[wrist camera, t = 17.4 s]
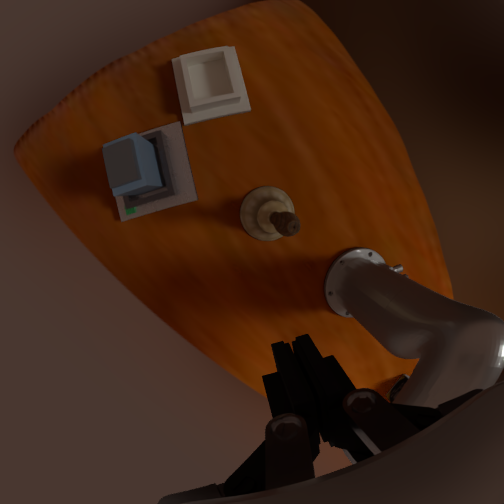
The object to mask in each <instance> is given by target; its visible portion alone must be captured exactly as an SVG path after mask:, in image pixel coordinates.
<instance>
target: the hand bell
mask: <svg viewBox="0 0 504 504" xmlns="http://www.w3.org/2000/svg"><path fill="white" fill-rule="evenodd" d="M240 219H241V223H242V225H243V227H244V229H245V230H246V232H247V233H248V234H249V235H251V236H252V237H254V238H256V239H258V240H262V241H272V240H276V239H278V238H280V237H282V236H293V235H295V234H296V233H298V232H299V230H300V221H299V219H298V217H297V216H296V215H295V214H294V206H293V203H292V201H291V199H290V198H289V196H288V195H287V194H286V193H285V192H284V191H282V190H280V189H278V188H276V187H271V186H264V187H259V188H257V189H254V190H253V191H251V192H250V193H249V194H248V195H247V196H246V197H245V199H244V200H243V202H242V205H241V209H240Z"/></svg>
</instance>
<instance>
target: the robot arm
mask: <svg viewBox="0 0 504 504" xmlns="http://www.w3.org/2000/svg"><path fill="white" fill-rule="evenodd" d="M368 253H369V254H368ZM340 261H341V262H340ZM402 271H403V267H402V265H401V264H399V265H396V266H394V267H391V266H389V265H386V263H385V261H384V260H383V258H382V257H381V256H380V255H379V254H378V253H377V252H375V251H373V250H371V249H368V248H363V247H360V248H354V249H350V250H348V251H346V252H344V253H343V254H342V255H340V256H339V257H338V258H337V259H336V260H335V261H334V262H333V264H332V265H331V267H330V268H329V270H328V273H327V275H326V279H325V284H324V292H325V297H326V301H327V302H328V304H329V306H330V307H331V308H332V309H333V310H334V311H335V312H336V313H337V314H339V315H341V316H344V317H354V318H355V319H356V320H357V321H358V322H359V323H360V324H361V325H362V326H363V327H364V328H365V329H366V330H367V331H368V332H369V333H370V334H371V335H372V336H373V337H374V338H375V339H376V340H377V341H378V342H379V343H380V344H381V345H382V346H383V347H384V348H386V349H387V350H388V351H389V352H390V353H391V354H393V355H394V356H396V357H399V358H403V359H416V358H420V359H419V361H418V363H417V365H416V366H415V368H414V370H413V373H412V374H411V376H410V377H409V379H408V380H407V382H406V383H405V385H404V386H403V388H402V389H401V391H400V392H399V394H398V395H397V397H396V398H395V399H394V401H393V402H392V403H389V402H388V401H387V400H385V399H384V398H383V397H382V396H381V395H380V394H379V393H378V392H376V391H375V390H372V389H369V388H361V389H356V388H355V386H354V385H353V383H352V382H351V380H350V379H349V377H348V376H347V375H346V373H345V372H344V370H343V369H342V367H341V366H340V364H339V363H338V361H337V360H336V359H335V357H334V356H333V355H331V356H328V357H325V358H323V357H322V356H321V354H320V352H319V351H318V349H317V348H316V346H315V344H314V343H313V341H312V339H311V338H310V336H309V335H308V334H305V335H301V336H298V337H296V341H292V346H293V351H294V353H293V351H292V349H291V347H290V344H289V343H285V344H284V342H283V341H281V342H277V343H273V344H271V347H272V351H273V355H274V359H275V363H276V368H277V372H275V373H271V374H268V375H264V376H262V378H263V382H264V386H265V390H266V394H267V398H268V401H269V405H270V409H271V413H272V417H273V419H272V420H270V421H269V423H268V424H267V425H266V429H265V440H264V441H263V443H262V444H261V445H260V446H259V447H258V448H257V449H256V450H255V451H254V452H253V453H252V454H251V456H250V457H249V458H248V459H247V460H246V461H245V462H244V463H243V464H242V465H241V466H240V467H239V468H238V469H237V470H236V471H235V472H234V473H233V474H232V475H231V476H230V477H229V478H228V479H227V480H226V482H225V483H222V484H219V485H216V484H215V483H214V484H210V485H207V486H203V487H200V488H196V489H192V490H188V491H183V492H179V493H174V494H170V495H167V496H164V497H163V498H161V499H160V500H159V502H158V504H504V322H503V320H502V319H500V318H498V317H497V316H496V315H494V314H492V313H490V312H488V311H485V310H483V309H479V308H476V307H473V306H469V305H466V304H463V303H460V302H457V301H454V300H452V299H449V298H447V297H445V296H443V295H441V294H439V293H436V292H434V291H432V290H430V289H429V288H427V287H425V286H423V285H421V284H419V283H417V282H415V281H413V280H411V279H409V277H408V275H406V274H403V275H401V274H399V273H400V272H402ZM319 433H320V435H321V437H322V439H323V441H324V442H327V441H328V442H329V444H330V446H331V447H333V446H335V447H338V448H341V449H343V451H344V453H345V455H346V456H347V457H348V459H349V460H350V461H351V463H352V464H353V465H351V466H348V467H346V468H343V469H340V470H337V471H334V472H332V473H329V474H326V475H323V476H320V477H317V478H315V472H314V466H313V461H314V460H315V459H316V457H317V456H318V454H319V453H320V450H319V444H320V435H319Z"/></svg>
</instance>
